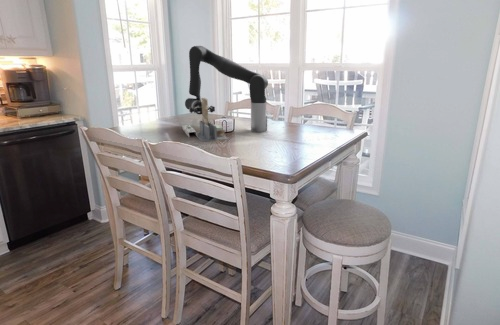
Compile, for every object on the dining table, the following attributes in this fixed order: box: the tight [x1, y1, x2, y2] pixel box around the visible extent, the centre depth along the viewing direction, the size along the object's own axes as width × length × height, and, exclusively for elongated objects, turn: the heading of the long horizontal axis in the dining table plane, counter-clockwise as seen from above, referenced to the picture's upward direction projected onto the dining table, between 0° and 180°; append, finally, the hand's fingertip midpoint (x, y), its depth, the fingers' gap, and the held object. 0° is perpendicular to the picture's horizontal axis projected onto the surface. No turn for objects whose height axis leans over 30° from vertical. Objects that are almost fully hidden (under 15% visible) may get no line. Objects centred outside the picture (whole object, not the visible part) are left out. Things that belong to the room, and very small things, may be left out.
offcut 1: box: [214, 123, 224, 131], centre depth 184 cm, size 5×10×2 cm, turn 18°
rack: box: [196, 120, 230, 142], centre depth 180 cm, size 15×21×8 cm
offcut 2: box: [217, 129, 226, 134], centre depth 184 cm, size 5×10×2 cm, turn 25°
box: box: [182, 124, 198, 139], centre depth 186 cm, size 4×4×28 cm
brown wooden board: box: [200, 97, 209, 126], centre depth 182 cm, size 2×6×20 cm, turn 21°
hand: (204, 111), depth 182 cm, fingers open, 8 cm apart
